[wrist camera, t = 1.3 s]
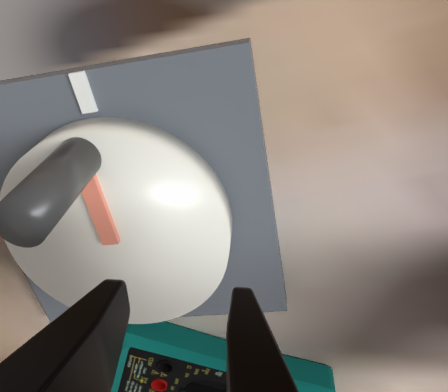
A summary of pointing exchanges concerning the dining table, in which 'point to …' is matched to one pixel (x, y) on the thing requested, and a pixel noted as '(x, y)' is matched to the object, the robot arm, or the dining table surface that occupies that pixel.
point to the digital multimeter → (192, 362)
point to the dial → (118, 217)
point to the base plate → (178, 126)
